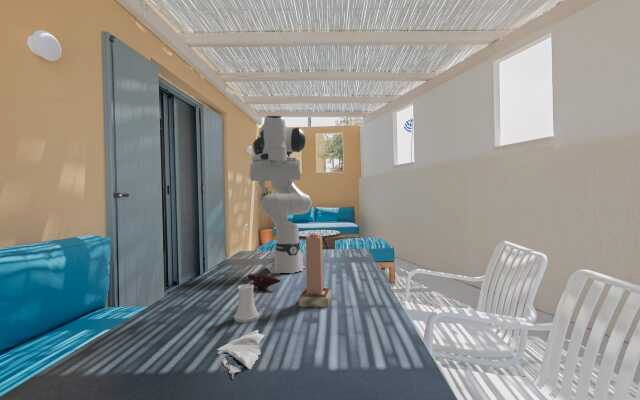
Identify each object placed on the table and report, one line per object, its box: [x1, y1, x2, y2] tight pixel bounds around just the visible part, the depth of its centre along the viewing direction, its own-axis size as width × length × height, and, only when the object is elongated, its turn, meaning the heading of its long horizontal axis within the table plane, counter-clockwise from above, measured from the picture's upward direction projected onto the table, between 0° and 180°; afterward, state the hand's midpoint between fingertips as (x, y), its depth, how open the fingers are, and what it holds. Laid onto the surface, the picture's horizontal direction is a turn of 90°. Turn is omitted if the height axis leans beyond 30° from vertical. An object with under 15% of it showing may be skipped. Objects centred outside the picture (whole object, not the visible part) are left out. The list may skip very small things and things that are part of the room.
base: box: [298, 287, 332, 308], centre depth 121 cm, size 10×10×4 cm
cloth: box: [216, 329, 266, 380], centre depth 84 cm, size 26×14×2 cm, turn 167°
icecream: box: [247, 272, 281, 291], centre depth 139 cm, size 7×7×15 cm
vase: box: [233, 283, 260, 323], centre depth 106 cm, size 8×8×10 cm
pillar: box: [305, 233, 324, 294], centre depth 121 cm, size 5×5×21 cm
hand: (276, 192), depth 133 cm, fingers open, 8 cm apart
